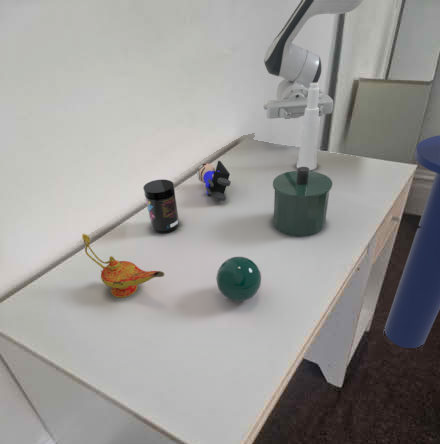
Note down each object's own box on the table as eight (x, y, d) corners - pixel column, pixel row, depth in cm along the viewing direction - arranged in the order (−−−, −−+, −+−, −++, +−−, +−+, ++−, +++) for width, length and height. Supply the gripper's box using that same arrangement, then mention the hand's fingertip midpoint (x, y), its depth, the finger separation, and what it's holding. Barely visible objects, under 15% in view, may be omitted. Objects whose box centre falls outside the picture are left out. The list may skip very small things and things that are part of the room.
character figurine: (209, 208, 95) (198, 185, 106) (236, 202, 95) (222, 179, 107) (204, 180, 90) (192, 158, 101) (233, 173, 90) (218, 152, 101)
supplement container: (163, 217, 92) (156, 177, 86) (185, 223, 89) (179, 182, 83) (146, 230, 88) (136, 189, 81) (168, 237, 85) (160, 195, 78)
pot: (297, 206, 92) (300, 169, 86) (334, 223, 85) (341, 184, 79) (263, 222, 87) (263, 184, 81) (299, 242, 80) (303, 202, 74)
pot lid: (300, 170, 87) (302, 152, 84) (344, 187, 79) (347, 168, 76) (260, 187, 82) (260, 169, 79) (303, 207, 74) (305, 187, 71)
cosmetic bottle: (315, 171, 107) (325, 86, 92) (294, 170, 108) (300, 86, 94) (318, 163, 111) (327, 80, 97) (297, 162, 113) (304, 80, 98)
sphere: (236, 317, 64) (234, 281, 59) (209, 294, 69) (205, 259, 64) (270, 297, 68) (271, 262, 62) (242, 276, 73) (241, 242, 67)
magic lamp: (159, 315, 66) (147, 266, 59) (84, 289, 73) (65, 242, 65) (179, 292, 70) (171, 243, 63) (106, 270, 77) (91, 223, 70)
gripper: (262, 94, 117) (268, 106, 107) (327, 88, 117) (339, 100, 106) (262, 115, 121) (268, 128, 111) (325, 110, 121) (336, 123, 111)
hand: (303, 114), depth 109 cm, fingers open, 8 cm apart
